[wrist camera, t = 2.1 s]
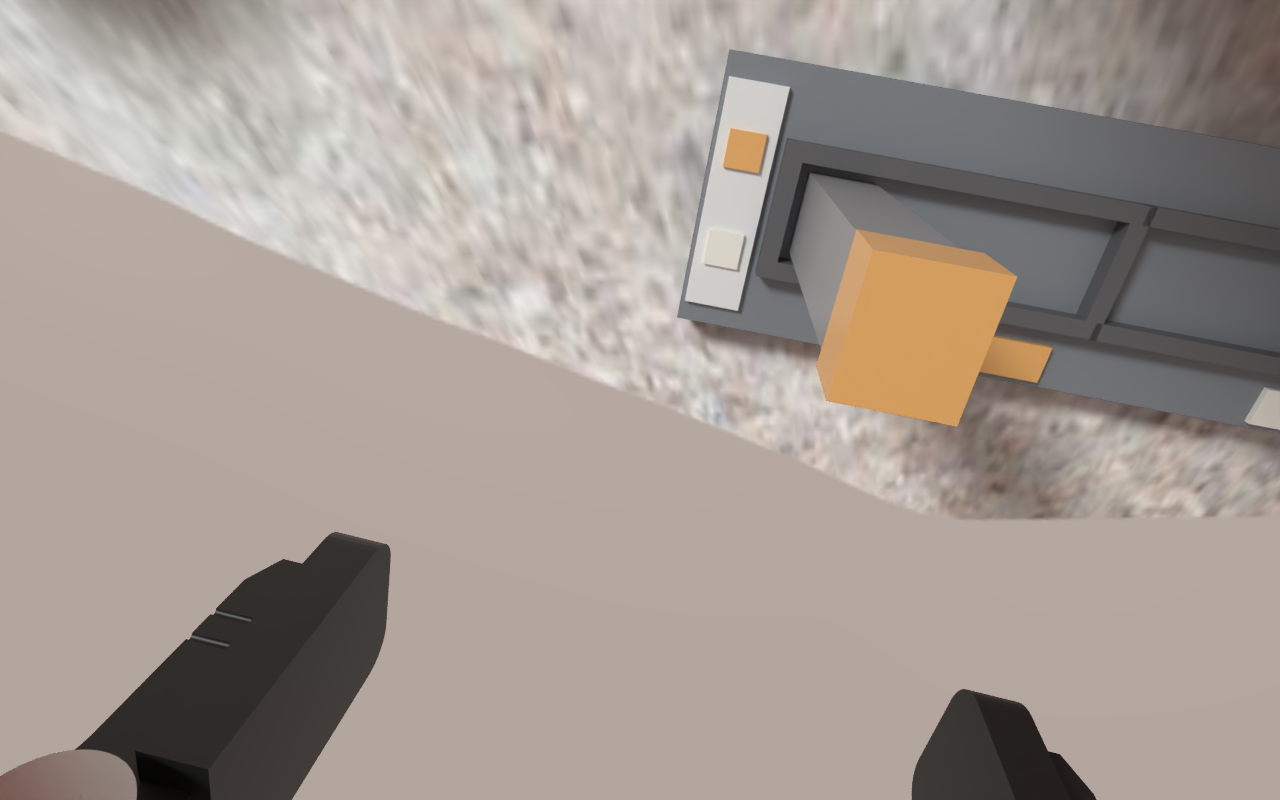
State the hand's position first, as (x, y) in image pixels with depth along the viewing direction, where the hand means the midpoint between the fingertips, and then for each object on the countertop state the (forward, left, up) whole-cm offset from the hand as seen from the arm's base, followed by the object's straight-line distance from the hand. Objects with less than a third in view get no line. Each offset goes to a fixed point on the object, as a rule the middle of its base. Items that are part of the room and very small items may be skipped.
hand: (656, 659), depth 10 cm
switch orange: (-2, +5, -26) cm, 27 cm away
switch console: (-2, +15, -28) cm, 32 cm away
